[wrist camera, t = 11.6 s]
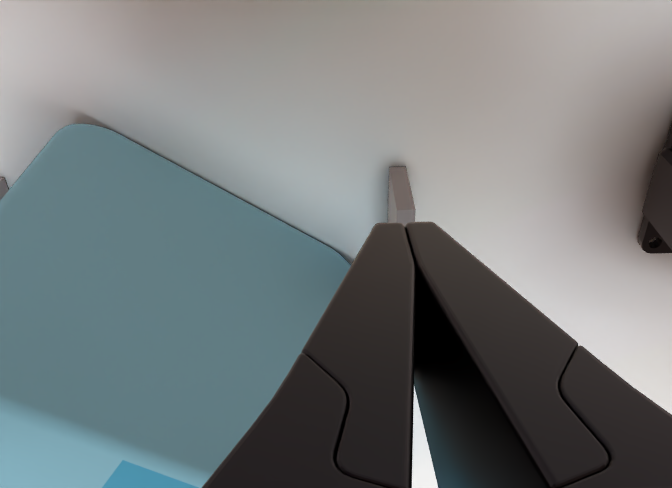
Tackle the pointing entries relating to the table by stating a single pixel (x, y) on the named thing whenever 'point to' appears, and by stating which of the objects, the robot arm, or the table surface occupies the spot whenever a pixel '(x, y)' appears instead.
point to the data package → (141, 316)
